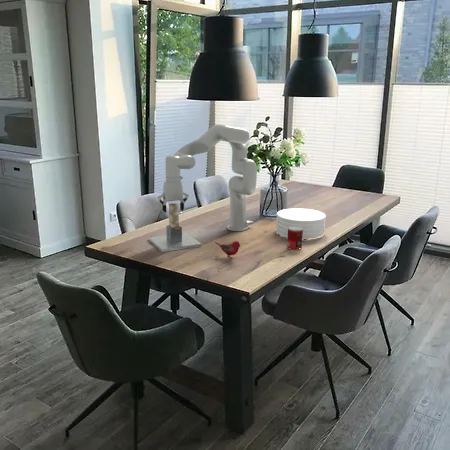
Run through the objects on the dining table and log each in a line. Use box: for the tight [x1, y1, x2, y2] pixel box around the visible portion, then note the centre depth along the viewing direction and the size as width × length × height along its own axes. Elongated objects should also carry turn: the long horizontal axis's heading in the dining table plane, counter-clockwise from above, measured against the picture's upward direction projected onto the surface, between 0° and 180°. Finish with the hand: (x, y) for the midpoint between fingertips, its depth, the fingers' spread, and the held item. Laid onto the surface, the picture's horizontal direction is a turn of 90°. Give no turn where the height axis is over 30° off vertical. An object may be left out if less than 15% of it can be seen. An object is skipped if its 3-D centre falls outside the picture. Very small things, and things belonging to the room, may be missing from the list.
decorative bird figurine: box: [214, 240, 241, 259], centre depth 249 cm, size 3×18×10 cm, turn 47°
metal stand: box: [148, 224, 202, 253], centre depth 270 cm, size 22×22×10 cm
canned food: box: [286, 226, 303, 250], centre depth 264 cm, size 8×8×11 cm
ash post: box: [168, 202, 180, 228], centre depth 268 cm, size 4×4×20 cm
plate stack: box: [275, 207, 327, 239], centre depth 290 cm, size 28×28×12 cm
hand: (173, 211), depth 266 cm, fingers open, 9 cm apart
